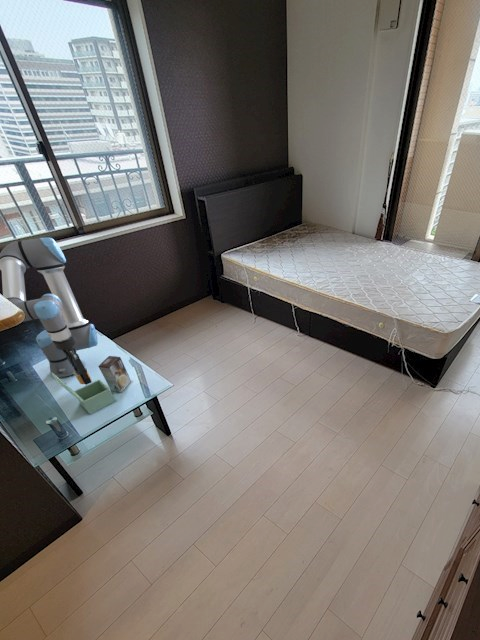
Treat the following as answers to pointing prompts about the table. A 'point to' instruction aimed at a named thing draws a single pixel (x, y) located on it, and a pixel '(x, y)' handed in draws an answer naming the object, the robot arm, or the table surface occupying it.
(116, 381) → the coffee box
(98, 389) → the pale green cubby
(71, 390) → the lid
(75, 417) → the table surface
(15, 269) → the robot arm
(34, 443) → the table surface
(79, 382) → the coffee pod
